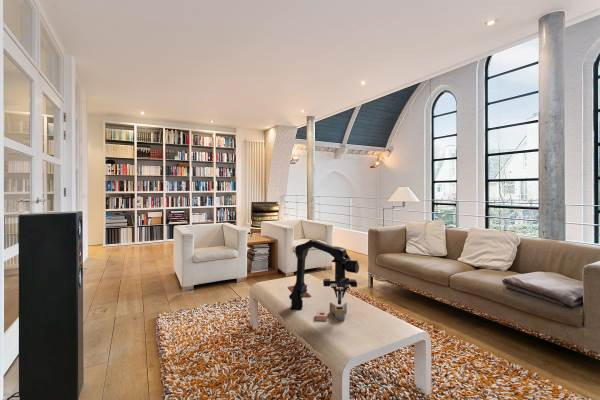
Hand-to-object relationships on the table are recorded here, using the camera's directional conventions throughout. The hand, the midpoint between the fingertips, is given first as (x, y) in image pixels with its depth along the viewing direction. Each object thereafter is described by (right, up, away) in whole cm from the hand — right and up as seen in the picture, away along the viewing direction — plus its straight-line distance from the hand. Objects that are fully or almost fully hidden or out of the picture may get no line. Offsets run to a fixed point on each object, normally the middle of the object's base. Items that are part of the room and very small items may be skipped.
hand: (339, 297), depth 173 cm
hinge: (0, -12, +3) cm, 12 cm away
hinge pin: (0, -4, 0) cm, 4 cm away
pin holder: (-10, -12, +1) cm, 15 cm away
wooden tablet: (-24, -11, +45) cm, 52 cm away
